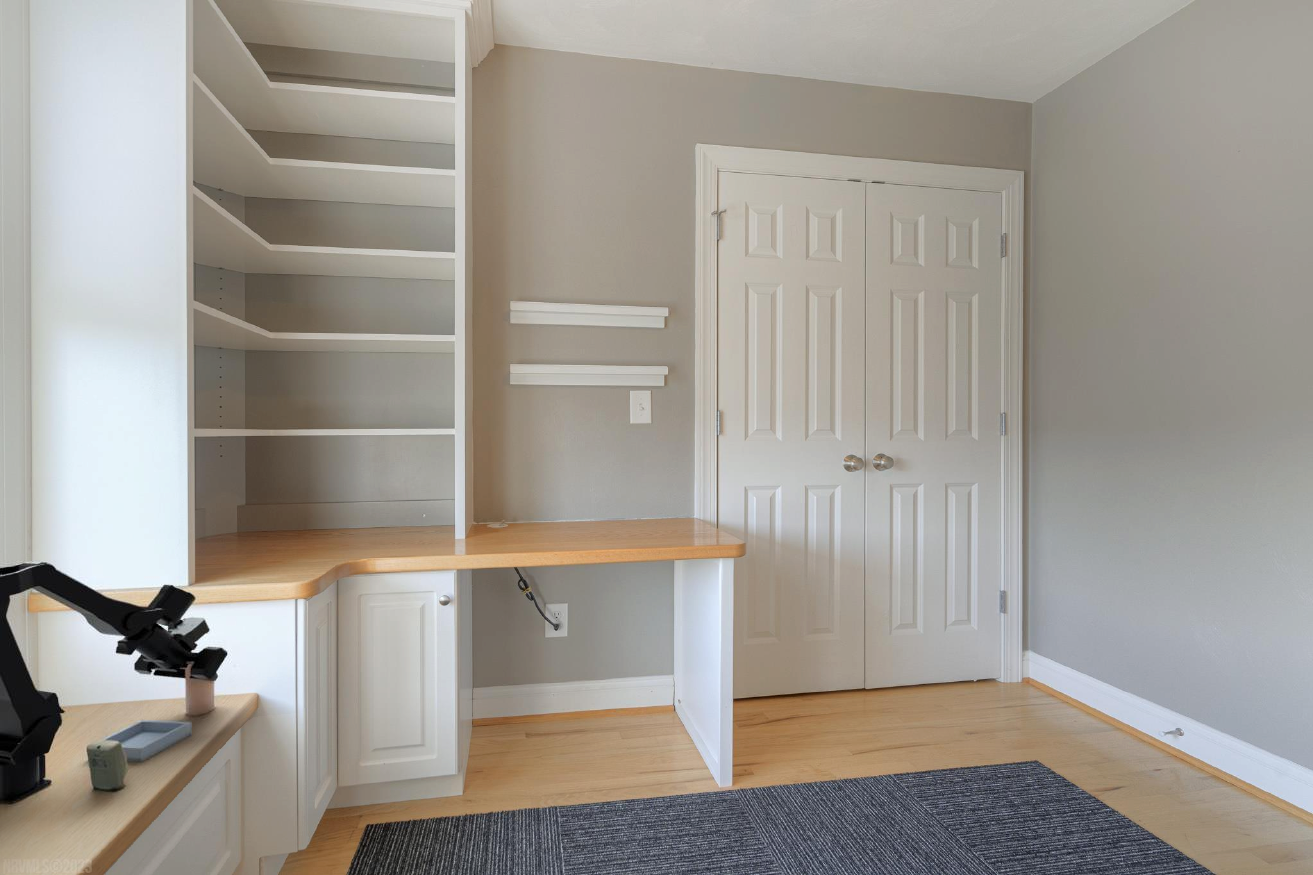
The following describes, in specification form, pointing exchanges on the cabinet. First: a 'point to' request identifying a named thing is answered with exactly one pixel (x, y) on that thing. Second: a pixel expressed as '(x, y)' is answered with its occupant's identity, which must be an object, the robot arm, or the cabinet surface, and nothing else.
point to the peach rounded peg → (198, 694)
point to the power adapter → (107, 765)
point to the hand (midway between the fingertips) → (205, 677)
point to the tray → (149, 737)
